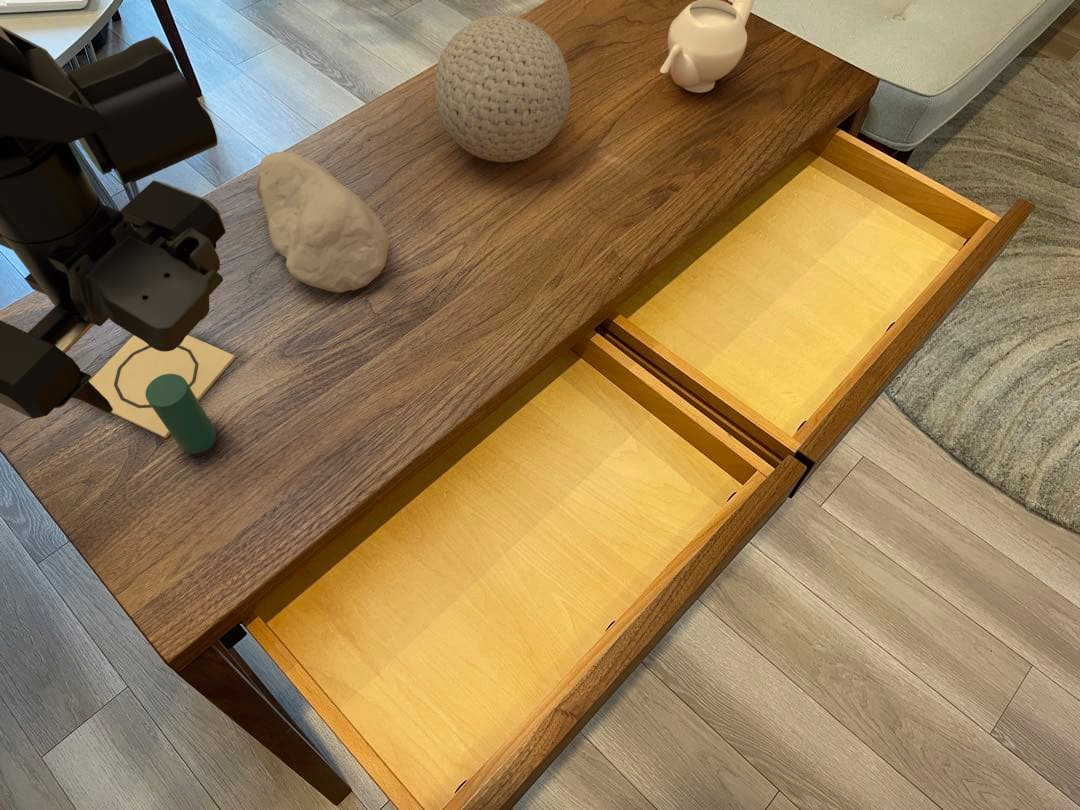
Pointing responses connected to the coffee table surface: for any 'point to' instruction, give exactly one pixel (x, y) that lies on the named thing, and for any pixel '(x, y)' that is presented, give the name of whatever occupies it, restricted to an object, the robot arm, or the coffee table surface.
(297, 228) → the decorative stone
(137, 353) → the sketch card
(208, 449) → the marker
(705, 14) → the teapot
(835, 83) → the coffee table surface
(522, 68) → the decorative ball
